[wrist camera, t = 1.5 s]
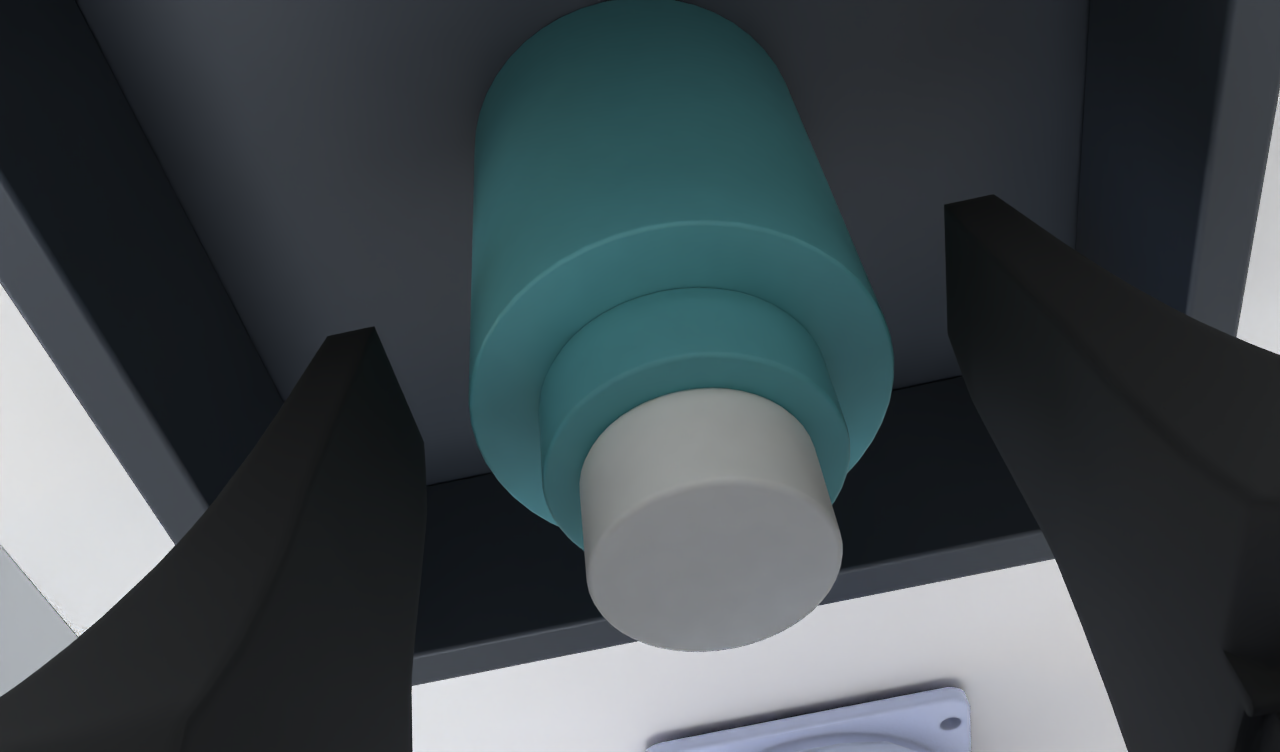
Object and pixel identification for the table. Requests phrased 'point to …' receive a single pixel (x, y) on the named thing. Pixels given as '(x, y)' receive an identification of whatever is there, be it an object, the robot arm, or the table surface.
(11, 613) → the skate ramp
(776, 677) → the table surface
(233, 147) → the bin
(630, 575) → the bottle
